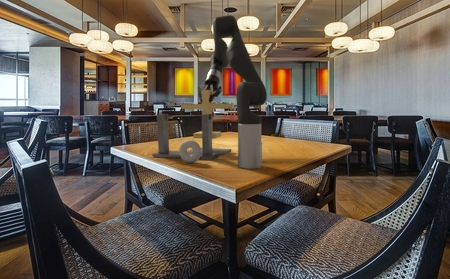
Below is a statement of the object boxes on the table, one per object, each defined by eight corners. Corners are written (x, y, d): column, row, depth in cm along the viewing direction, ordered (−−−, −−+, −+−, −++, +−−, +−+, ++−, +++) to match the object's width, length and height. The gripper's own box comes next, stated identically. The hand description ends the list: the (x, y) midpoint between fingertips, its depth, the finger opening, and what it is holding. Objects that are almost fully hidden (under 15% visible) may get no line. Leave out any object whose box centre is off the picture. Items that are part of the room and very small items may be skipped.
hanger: (235, 136, 138) (235, 90, 135) (230, 139, 129) (230, 89, 126) (187, 135, 146) (186, 91, 143) (179, 137, 137) (177, 90, 134)
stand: (217, 156, 126) (217, 113, 124) (210, 160, 117) (210, 114, 114) (162, 153, 135) (161, 113, 132) (152, 156, 126) (150, 114, 123)
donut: (178, 163, 112) (177, 140, 110) (181, 161, 115) (180, 139, 114) (200, 164, 109) (199, 140, 108) (202, 162, 113) (202, 139, 111)
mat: (231, 150, 142) (231, 149, 142) (223, 155, 129) (223, 153, 129) (197, 148, 148) (197, 147, 148) (186, 153, 134) (186, 151, 134)
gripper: (199, 74, 142) (190, 96, 132) (224, 73, 138) (217, 95, 128) (202, 85, 148) (194, 106, 138) (226, 84, 144) (220, 106, 134)
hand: (205, 101), depth 133 cm, fingers closed on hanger, 4 cm apart
